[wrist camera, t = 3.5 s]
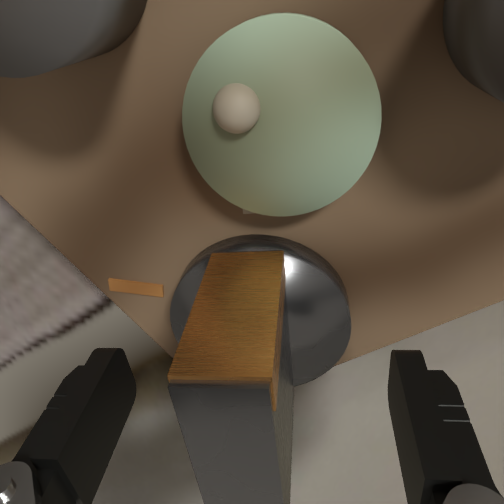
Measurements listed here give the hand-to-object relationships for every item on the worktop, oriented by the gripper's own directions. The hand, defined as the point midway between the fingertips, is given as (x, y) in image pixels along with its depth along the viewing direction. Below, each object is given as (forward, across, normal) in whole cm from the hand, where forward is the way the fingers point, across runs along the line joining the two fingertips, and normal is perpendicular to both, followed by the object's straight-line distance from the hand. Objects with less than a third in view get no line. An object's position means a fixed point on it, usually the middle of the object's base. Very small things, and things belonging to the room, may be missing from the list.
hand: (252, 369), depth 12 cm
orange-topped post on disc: (+3, 0, 0) cm, 3 cm away
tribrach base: (+5, -1, -6) cm, 8 cm away
